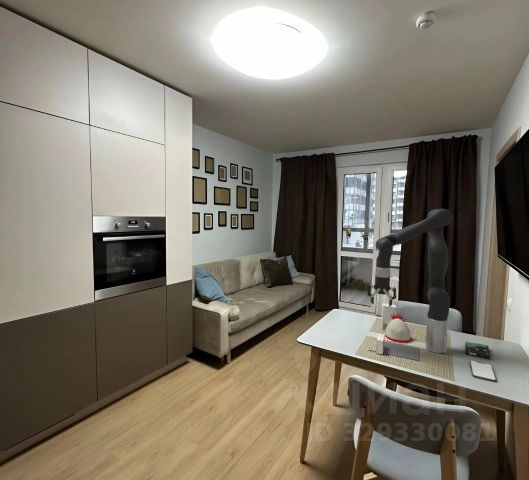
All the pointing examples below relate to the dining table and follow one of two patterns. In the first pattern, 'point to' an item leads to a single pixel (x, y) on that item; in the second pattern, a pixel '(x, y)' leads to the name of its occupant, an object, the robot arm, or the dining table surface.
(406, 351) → the mat
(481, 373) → the phone case
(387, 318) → the skincare box
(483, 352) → the disk drive
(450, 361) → the dining table surface
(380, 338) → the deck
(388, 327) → the kitchen timer
